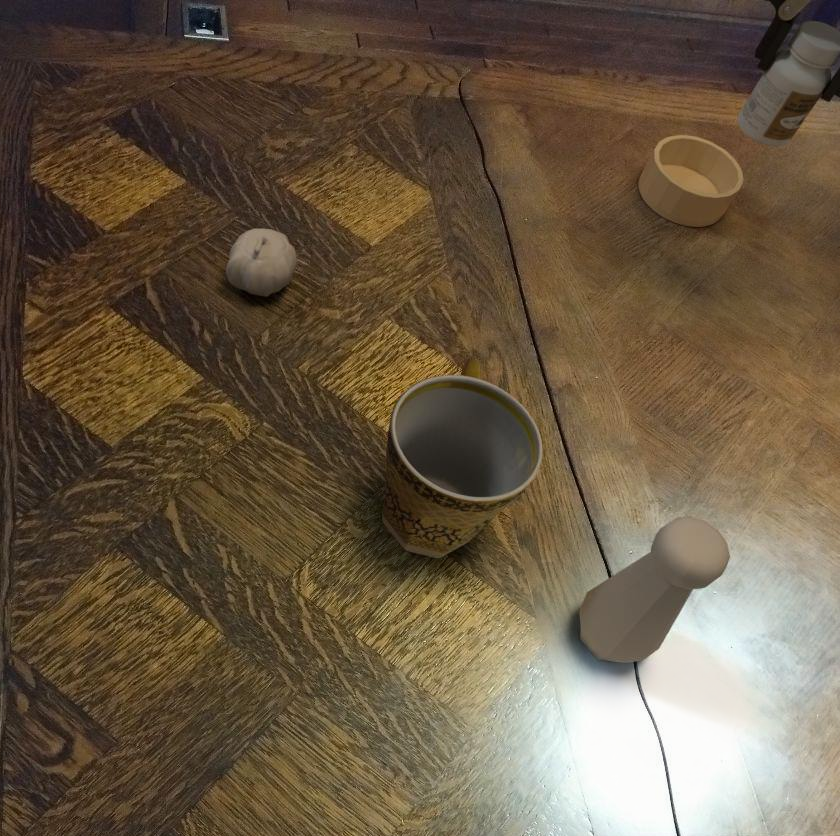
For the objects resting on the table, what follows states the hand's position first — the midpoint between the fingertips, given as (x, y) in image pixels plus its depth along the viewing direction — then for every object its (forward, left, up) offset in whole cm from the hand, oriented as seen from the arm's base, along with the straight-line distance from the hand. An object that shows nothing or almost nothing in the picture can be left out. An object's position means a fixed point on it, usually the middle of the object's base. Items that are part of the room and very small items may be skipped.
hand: (795, 79), depth 72 cm
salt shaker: (+19, +34, -20) cm, 43 cm away
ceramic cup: (+29, +22, -20) cm, 41 cm away
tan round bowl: (-5, -10, -20) cm, 23 cm away
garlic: (+38, 0, -20) cm, 42 cm away
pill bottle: (0, 0, -5) cm, 5 cm away
